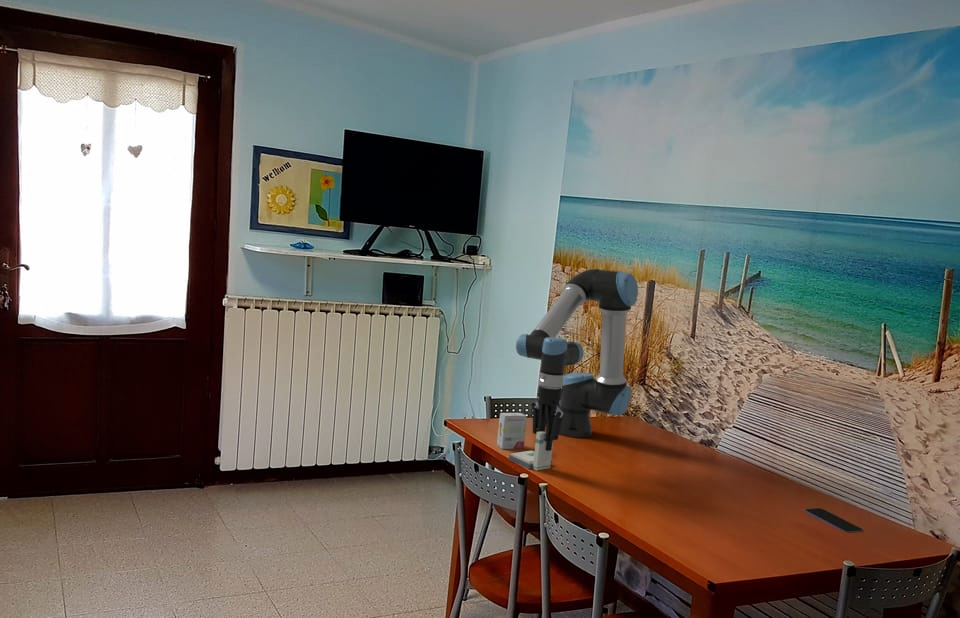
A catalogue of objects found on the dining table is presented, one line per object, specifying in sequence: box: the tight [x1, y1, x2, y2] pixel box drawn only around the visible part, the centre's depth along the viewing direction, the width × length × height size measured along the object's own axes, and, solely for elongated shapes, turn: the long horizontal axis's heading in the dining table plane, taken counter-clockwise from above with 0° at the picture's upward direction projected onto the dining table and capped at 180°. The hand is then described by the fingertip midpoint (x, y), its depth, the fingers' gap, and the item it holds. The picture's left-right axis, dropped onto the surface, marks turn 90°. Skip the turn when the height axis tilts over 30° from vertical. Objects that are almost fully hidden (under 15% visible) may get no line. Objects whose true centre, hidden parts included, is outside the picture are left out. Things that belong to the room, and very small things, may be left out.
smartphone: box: [804, 507, 864, 534], centre depth 204 cm, size 7×1×15 cm
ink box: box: [496, 412, 527, 450], centre depth 245 cm, size 9×5×12 cm, turn 112°
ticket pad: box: [508, 450, 553, 470], centre depth 230 cm, size 10×10×2 cm
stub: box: [532, 430, 554, 471], centre depth 224 cm, size 6×2×12 cm, turn 128°
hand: (542, 458), depth 225 cm, fingers closed on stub, 2 cm apart
